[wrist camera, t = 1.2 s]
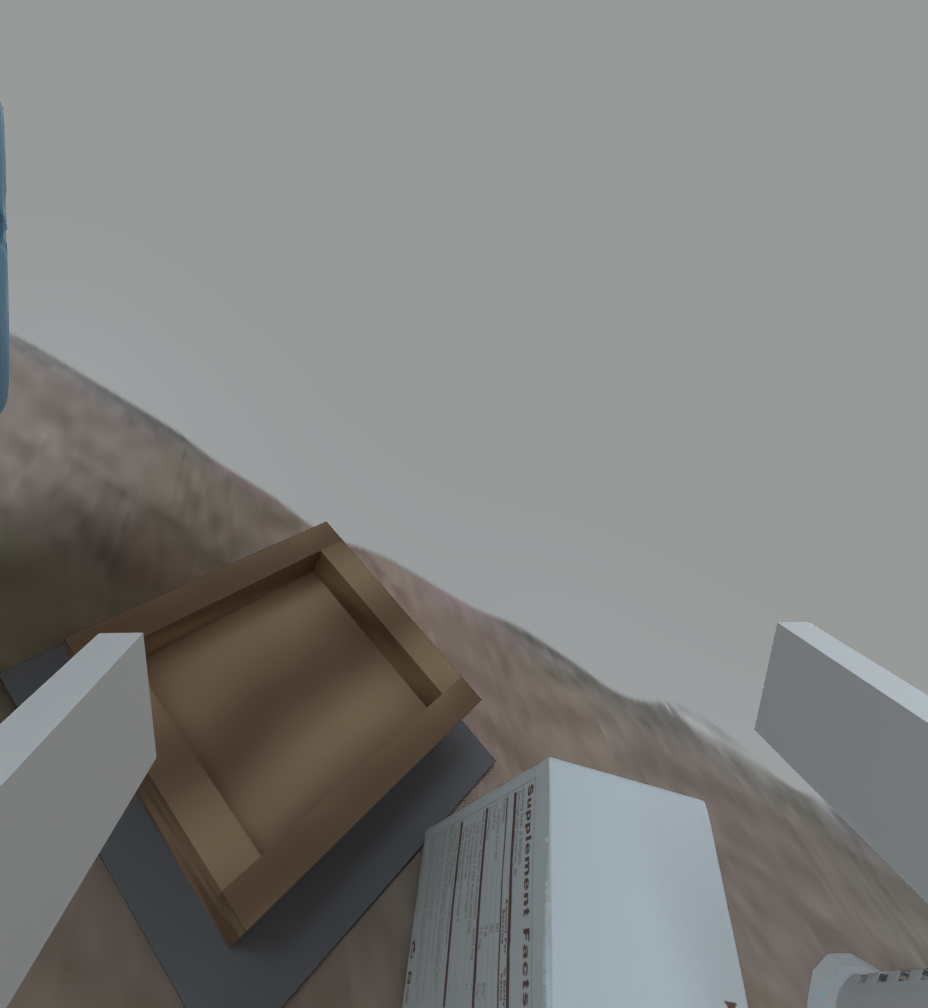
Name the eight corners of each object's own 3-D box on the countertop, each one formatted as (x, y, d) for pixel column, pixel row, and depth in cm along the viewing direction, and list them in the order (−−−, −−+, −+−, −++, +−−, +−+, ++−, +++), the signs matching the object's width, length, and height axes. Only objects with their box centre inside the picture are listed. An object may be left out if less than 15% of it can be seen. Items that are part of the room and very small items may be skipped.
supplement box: (545, 856, 29) (713, 799, 21) (545, 1048, 24) (770, 1076, 15) (421, 824, 28) (548, 748, 19) (392, 1023, 22) (550, 1039, 14)
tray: (77, 698, 25) (64, 638, 21) (306, 579, 34) (326, 521, 31) (229, 948, 22) (246, 930, 18) (439, 741, 31) (481, 699, 27)
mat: (-1, 677, 25) (-2, 673, 25) (303, 538, 37) (304, 535, 37) (222, 1073, 20) (223, 1073, 20) (492, 763, 32) (495, 760, 31)
